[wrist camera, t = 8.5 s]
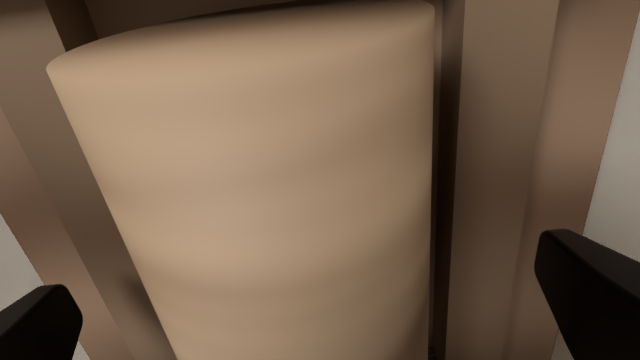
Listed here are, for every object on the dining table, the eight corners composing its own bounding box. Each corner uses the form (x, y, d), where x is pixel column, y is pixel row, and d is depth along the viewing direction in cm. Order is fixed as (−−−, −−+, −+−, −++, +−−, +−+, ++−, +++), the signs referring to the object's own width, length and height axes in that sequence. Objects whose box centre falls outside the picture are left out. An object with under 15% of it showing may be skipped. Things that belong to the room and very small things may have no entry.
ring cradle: (529, 357, 14) (579, 448, 12) (141, 396, 15) (105, 492, 12) (670, -298, 6) (919, -464, 4) (-177, -171, 7) (-474, -245, 4)
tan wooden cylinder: (403, 325, 12) (454, 531, 8) (241, 341, 12) (204, 550, 8) (395, -13, 7) (504, 38, 3) (138, 21, 8) (-72, 110, 3)
